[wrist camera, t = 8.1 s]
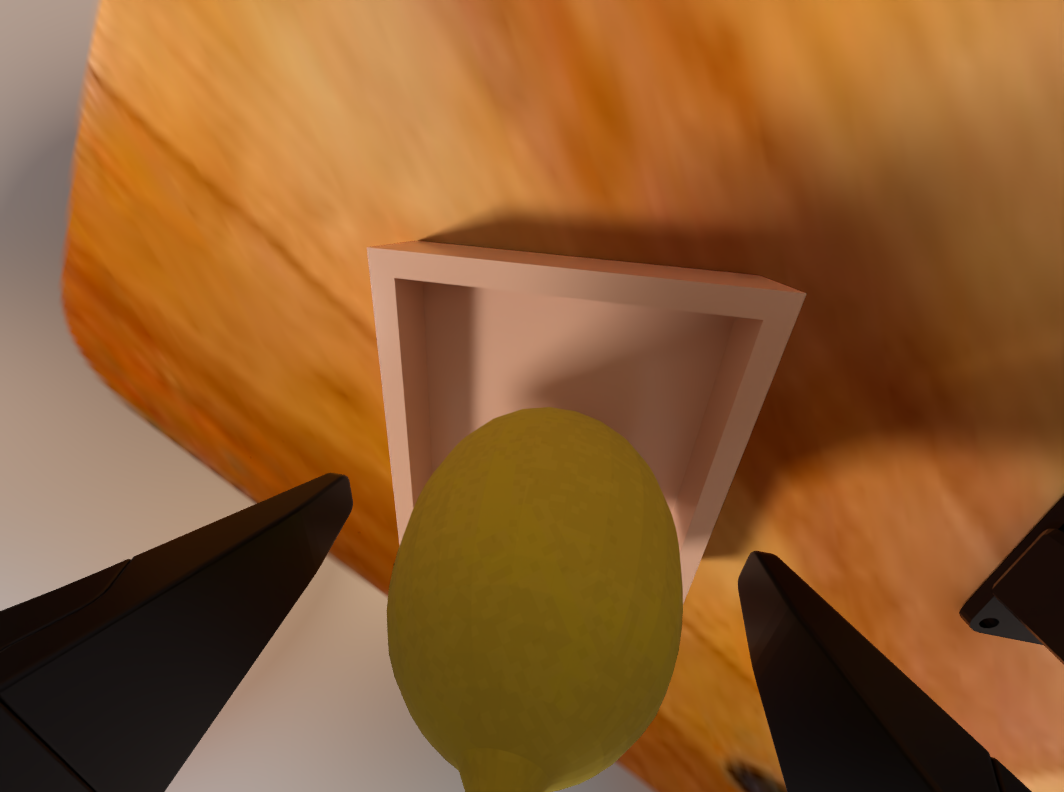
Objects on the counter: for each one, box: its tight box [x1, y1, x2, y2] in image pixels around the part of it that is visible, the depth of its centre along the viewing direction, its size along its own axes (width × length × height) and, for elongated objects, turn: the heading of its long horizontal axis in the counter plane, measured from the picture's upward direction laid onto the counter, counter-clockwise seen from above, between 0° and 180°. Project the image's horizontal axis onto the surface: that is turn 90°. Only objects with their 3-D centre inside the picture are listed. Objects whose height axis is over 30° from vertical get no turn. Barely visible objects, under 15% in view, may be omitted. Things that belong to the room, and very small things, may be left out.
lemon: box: [387, 407, 683, 792], centre depth 8 cm, size 6×6×8 cm
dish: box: [367, 241, 807, 603], centre depth 11 cm, size 9×10×2 cm
